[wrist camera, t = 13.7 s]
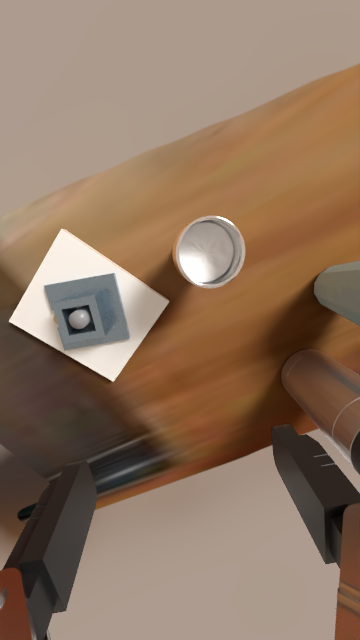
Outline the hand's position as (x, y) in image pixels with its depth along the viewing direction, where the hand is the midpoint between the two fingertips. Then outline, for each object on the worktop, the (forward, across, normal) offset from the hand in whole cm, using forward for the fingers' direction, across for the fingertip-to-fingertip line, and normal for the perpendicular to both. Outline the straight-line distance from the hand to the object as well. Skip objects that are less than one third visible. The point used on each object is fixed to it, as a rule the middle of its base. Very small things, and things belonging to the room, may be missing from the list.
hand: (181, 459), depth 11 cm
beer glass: (+30, -5, -8) cm, 32 cm away
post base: (+30, +12, -2) cm, 32 cm away
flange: (+29, +12, -2) cm, 31 cm away
